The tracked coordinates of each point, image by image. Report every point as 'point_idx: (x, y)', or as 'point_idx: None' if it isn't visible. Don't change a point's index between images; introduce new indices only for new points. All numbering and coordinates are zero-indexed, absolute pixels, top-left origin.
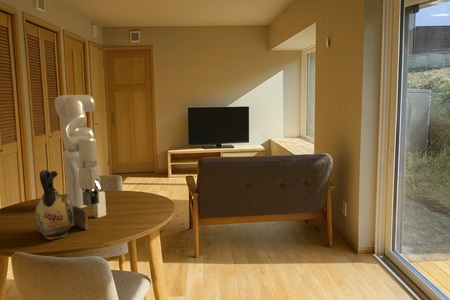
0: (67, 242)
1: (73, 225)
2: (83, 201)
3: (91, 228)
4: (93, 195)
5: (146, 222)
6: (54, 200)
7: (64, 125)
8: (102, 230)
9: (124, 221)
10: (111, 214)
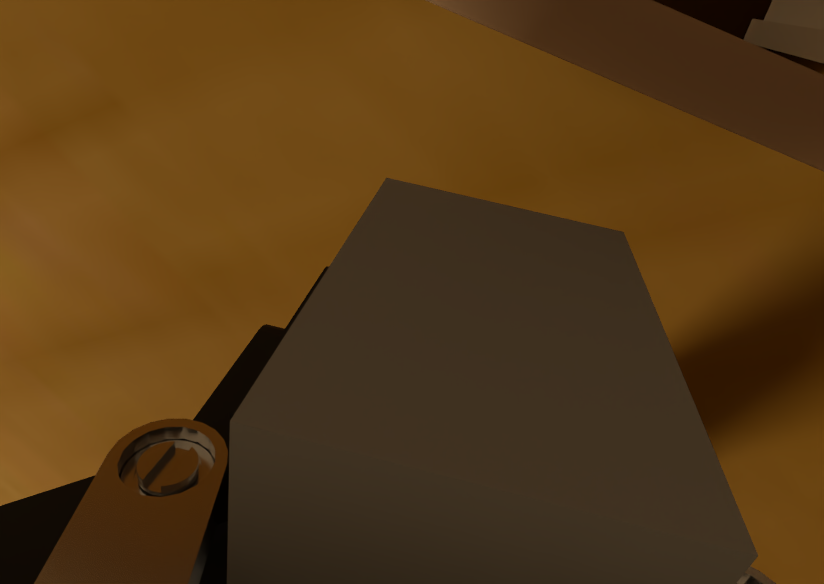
0: None
1: (752, 23)
2: (620, 276)
3: (386, 27)
4: (146, 430)
5: (19, 380)
6: None
7: None
8: (183, 9)
9: (217, 364)
10: None
